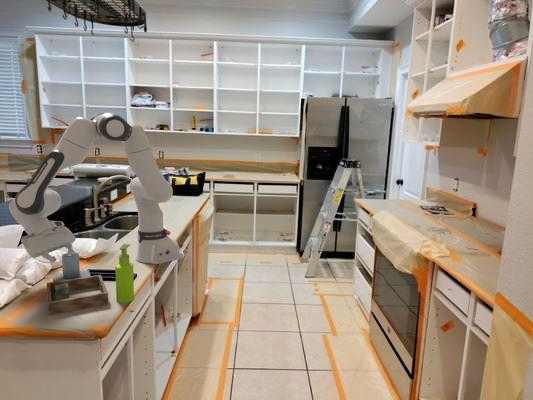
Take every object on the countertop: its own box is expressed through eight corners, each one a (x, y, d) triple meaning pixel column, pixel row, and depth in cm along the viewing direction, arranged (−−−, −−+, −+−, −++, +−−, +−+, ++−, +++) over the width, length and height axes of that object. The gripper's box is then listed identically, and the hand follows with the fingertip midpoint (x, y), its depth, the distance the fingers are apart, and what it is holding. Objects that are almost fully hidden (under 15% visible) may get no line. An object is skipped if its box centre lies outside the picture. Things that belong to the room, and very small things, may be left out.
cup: (79, 272, 147) (78, 251, 146) (80, 277, 142) (79, 256, 141) (62, 274, 144) (61, 253, 143) (63, 280, 139) (62, 258, 138)
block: (68, 293, 132) (67, 283, 131) (68, 297, 129) (68, 287, 128) (55, 295, 130) (55, 285, 129) (56, 299, 127) (55, 289, 126)
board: (88, 273, 151) (88, 269, 150) (91, 281, 143) (91, 277, 143) (52, 278, 144) (52, 275, 144) (53, 287, 136) (53, 283, 136)
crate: (101, 284, 141) (100, 274, 140) (108, 303, 126) (107, 292, 125) (47, 293, 131) (46, 282, 130) (48, 315, 116) (47, 303, 115)
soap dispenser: (137, 295, 133) (136, 243, 130) (130, 303, 126) (129, 249, 123) (121, 294, 133) (119, 242, 129) (113, 303, 126) (112, 248, 123)
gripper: (22, 232, 132) (46, 261, 132) (65, 220, 152) (86, 245, 151) (13, 243, 134) (37, 271, 133) (57, 229, 153) (77, 254, 153)
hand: (63, 257), depth 142 cm, fingers open, 8 cm apart
